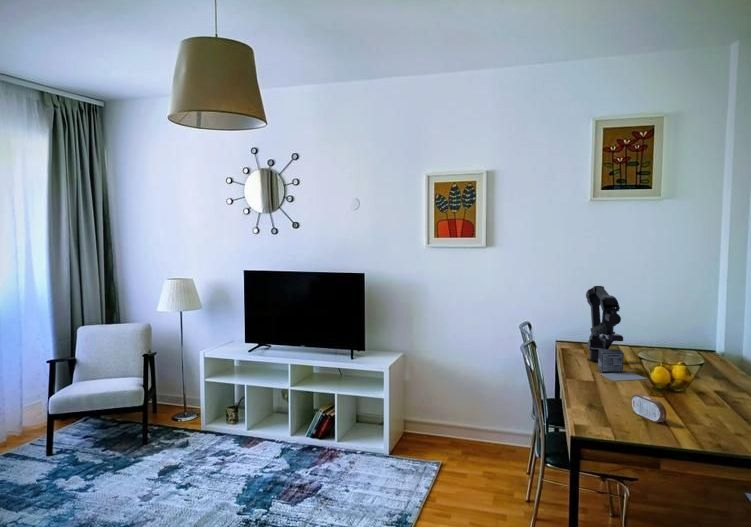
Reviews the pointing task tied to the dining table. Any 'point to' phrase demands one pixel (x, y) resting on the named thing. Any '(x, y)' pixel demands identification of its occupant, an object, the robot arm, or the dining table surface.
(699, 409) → the dining table surface
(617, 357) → the small box
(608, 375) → the mat
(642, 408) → the tin
